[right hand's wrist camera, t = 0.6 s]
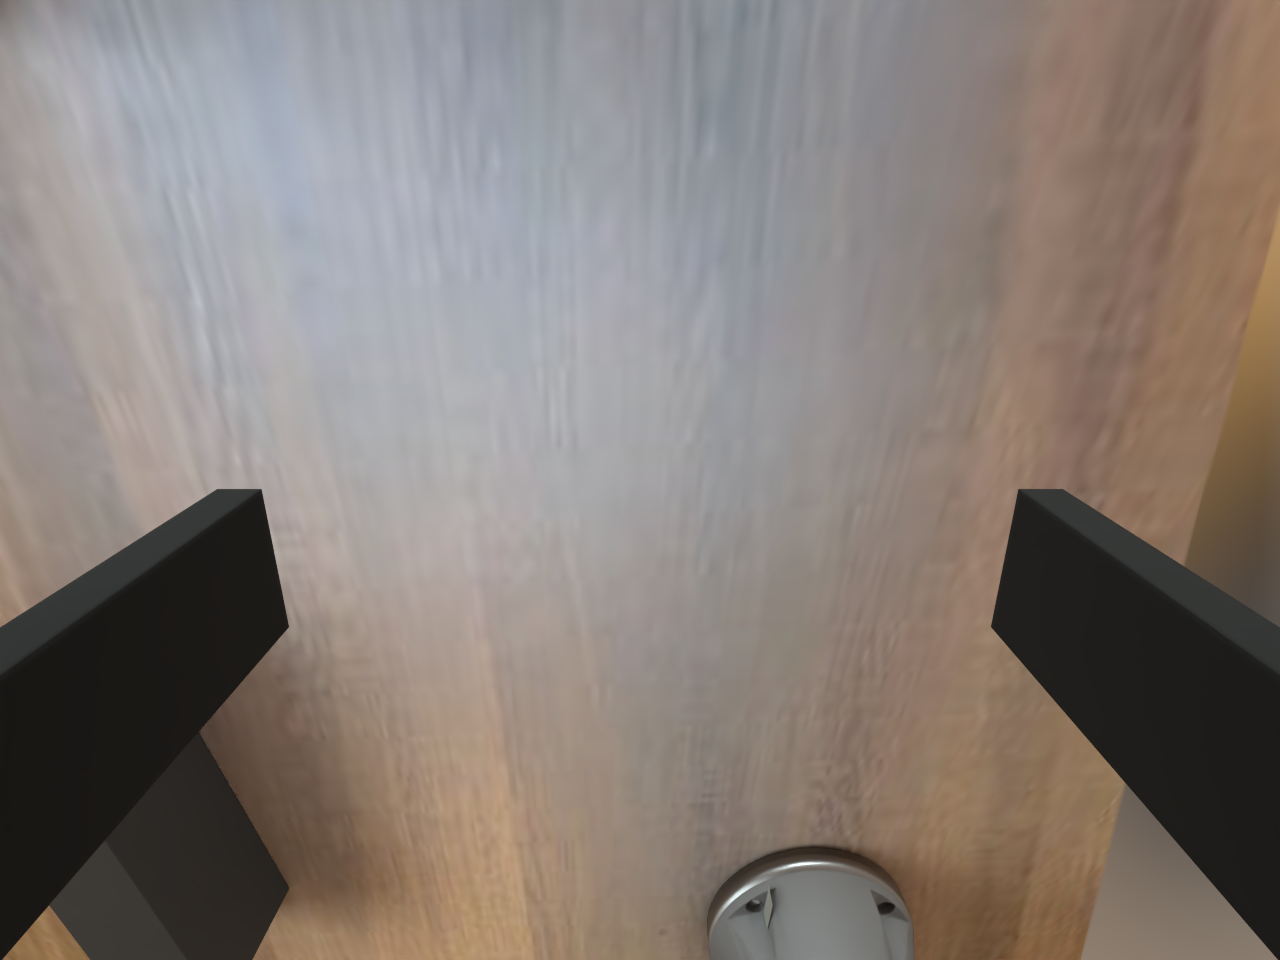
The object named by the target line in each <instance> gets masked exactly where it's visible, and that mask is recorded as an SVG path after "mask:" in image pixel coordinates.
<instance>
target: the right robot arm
mask: <svg viewBox="0 0 1280 960" xmlns="http://www.w3.org/2000/svg"><path fill="white" fill-rule="evenodd" d="M288 627H289V625H288V620H287V615H286V610H285V605H284V600H283V595H282V590H281V585H280V580H279V575H278V570H277V565H276V560H275V554H274V549H273V544H272V539H271V534H270V529H269V524H268V519H267V514H266V509H265V504H264V499H263V494H262V489H217V490H215V491H214V492H212V493H211V494H209V495H207V496H206V497H204V498H203V499H201V500H200V501H198V502H196V503H195V504H193V505H192V506H190V507H189V508H187V509H185V510H184V511H182V512H181V513H179V514H178V515H176V516H174V517H173V518H171V519H170V520H168V521H167V522H165V523H163V524H162V525H160V526H159V527H157V528H156V529H154V530H152V531H151V532H149V533H148V534H146V535H145V536H143V537H142V538H140V539H138V540H137V541H135V542H134V543H132V544H131V545H129V546H127V547H126V548H124V549H123V550H121V551H120V552H118V553H116V554H115V555H113V556H112V557H110V558H109V559H107V560H105V561H104V562H102V563H101V564H99V565H98V566H96V567H94V568H93V569H91V570H90V571H88V572H87V573H85V574H83V575H82V576H80V577H79V578H77V579H76V580H74V581H72V582H71V583H69V584H68V585H66V586H65V587H63V588H61V589H60V590H58V591H57V592H55V593H54V594H52V595H51V596H49V597H47V598H46V599H44V600H43V601H41V602H40V603H38V604H36V605H35V606H33V607H32V608H30V609H29V610H27V611H25V612H24V613H22V614H21V615H19V616H18V617H16V618H14V619H13V620H11V621H10V622H8V623H7V624H5V625H3V626H2V627H0V960H2V959H3V958H4V957H5V956H6V954H7V953H8V952H9V951H10V950H11V949H12V947H13V946H14V945H15V944H16V943H17V942H18V940H19V939H20V938H21V937H22V936H23V935H24V934H25V932H26V931H27V930H28V929H29V928H30V927H31V925H32V924H33V923H34V922H35V921H36V920H37V918H38V917H39V916H40V915H41V914H42V913H43V911H44V910H45V909H46V908H47V907H48V906H49V905H50V903H51V902H52V901H53V900H54V899H55V898H56V896H57V895H58V894H59V893H60V892H61V891H62V889H63V888H64V887H65V886H66V885H67V884H68V883H69V881H70V880H71V879H72V878H73V877H74V876H75V874H76V873H77V872H78V871H79V870H80V869H81V867H82V866H83V865H84V864H85V863H86V862H87V860H88V859H89V858H90V857H91V856H92V855H93V854H94V852H95V851H96V850H97V849H98V848H99V847H100V845H101V844H102V843H103V842H104V841H105V840H106V838H107V837H108V836H109V835H110V834H111V833H112V831H113V830H114V829H115V828H116V827H117V826H118V825H119V823H120V822H121V821H122V820H123V819H124V818H125V816H126V815H127V814H128V813H129V812H130V811H131V809H132V808H133V807H134V806H135V805H136V804H137V802H138V801H139V800H140V799H141V798H142V797H143V796H144V794H145V793H146V792H147V791H148V790H149V789H150V787H151V786H152V785H153V784H154V783H155V782H156V780H157V779H158V778H159V777H160V776H161V775H162V774H163V772H164V771H165V770H166V769H167V768H168V767H169V765H170V764H171V763H172V762H173V761H174V760H175V758H176V757H177V756H178V755H179V754H180V753H181V751H182V750H183V749H184V748H185V747H186V746H187V745H188V743H189V742H190V741H191V740H192V739H193V738H194V736H195V735H196V734H197V733H198V732H199V731H200V729H201V728H202V727H203V726H204V725H205V724H206V722H207V721H208V720H209V719H210V718H211V717H212V716H213V714H214V713H215V712H216V711H217V710H218V709H219V707H220V706H221V705H222V704H223V703H224V702H225V700H226V699H227V698H228V697H229V696H230V695H231V693H232V692H233V691H234V690H235V689H236V688H237V687H238V685H239V684H240V683H241V682H242V681H243V680H244V678H245V677H246V676H247V675H248V674H249V673H250V671H251V670H252V669H253V668H254V667H255V666H256V665H257V663H258V662H259V661H260V660H261V659H262V658H263V656H264V655H265V654H266V653H267V652H268V651H269V649H270V648H271V647H272V646H273V645H274V644H275V642H276V641H277V640H278V639H279V638H280V637H281V636H282V634H283V633H284V632H285V631H286V630H287V629H288ZM991 627H992V629H993V630H994V631H995V632H996V633H997V634H998V636H999V637H1000V638H1001V639H1002V640H1003V641H1004V642H1005V644H1006V645H1007V646H1008V647H1009V648H1010V649H1011V651H1012V652H1013V653H1014V654H1015V655H1016V656H1017V658H1018V659H1019V660H1020V661H1021V662H1022V663H1023V665H1024V666H1025V667H1026V668H1027V669H1028V670H1029V671H1030V673H1031V674H1032V675H1033V676H1034V677H1035V678H1036V680H1037V681H1038V682H1039V683H1040V684H1041V685H1042V687H1043V688H1044V689H1045V690H1046V691H1047V692H1048V694H1049V695H1050V696H1051V697H1052V698H1053V699H1054V700H1055V702H1056V703H1057V704H1058V705H1059V706H1060V707H1061V709H1062V710H1063V711H1064V712H1065V713H1066V714H1067V716H1068V717H1069V718H1070V719H1071V720H1072V721H1073V722H1074V724H1075V725H1076V726H1077V727H1078V728H1079V729H1080V731H1081V732H1082V733H1083V734H1084V735H1085V736H1086V738H1087V739H1088V740H1089V741H1090V742H1091V743H1092V745H1093V746H1094V747H1095V748H1096V749H1097V750H1098V751H1099V753H1100V754H1101V755H1102V756H1103V757H1104V758H1105V760H1106V761H1107V762H1108V763H1109V764H1110V765H1111V767H1112V768H1113V769H1114V770H1115V771H1116V772H1117V774H1118V775H1119V776H1120V777H1121V778H1122V779H1123V780H1124V782H1125V783H1126V784H1127V785H1128V786H1129V787H1130V789H1131V790H1132V791H1133V792H1134V793H1135V794H1136V796H1137V797H1138V798H1139V799H1140V800H1141V801H1142V802H1143V804H1144V805H1145V806H1146V807H1147V808H1148V809H1149V811H1150V812H1151V813H1152V814H1153V815H1154V816H1155V818H1156V819H1157V820H1158V821H1159V822H1160V823H1161V825H1162V826H1163V827H1164V828H1165V829H1166V830H1167V831H1168V832H1169V834H1170V835H1171V836H1172V837H1173V838H1174V840H1175V841H1176V842H1177V843H1178V844H1179V845H1180V847H1181V848H1182V849H1183V850H1184V851H1185V852H1186V853H1187V855H1188V856H1189V857H1190V858H1191V859H1192V860H1193V862H1194V863H1195V864H1196V865H1197V866H1198V867H1199V869H1200V870H1201V871H1202V872H1203V873H1204V874H1205V876H1206V877H1207V878H1208V879H1209V880H1210V881H1211V882H1212V884H1213V885H1214V886H1215V887H1216V888H1217V889H1218V891H1219V892H1220V893H1221V894H1222V895H1223V896H1224V898H1225V899H1226V900H1227V901H1228V902H1229V903H1230V905H1231V906H1232V907H1233V908H1234V909H1235V910H1236V911H1237V913H1238V914H1239V915H1240V916H1241V917H1242V918H1243V920H1244V921H1245V922H1246V923H1247V924H1248V925H1249V927H1250V928H1251V929H1252V930H1253V931H1254V932H1255V934H1256V935H1257V936H1258V937H1259V938H1260V939H1261V940H1262V942H1263V943H1264V944H1265V945H1266V946H1267V947H1268V949H1269V950H1270V951H1271V952H1272V953H1273V954H1274V956H1275V957H1276V958H1277V959H1278V960H1280V627H1278V626H1277V625H1275V624H1273V623H1272V622H1270V621H1269V620H1267V619H1266V618H1264V617H1262V616H1261V615H1259V614H1258V613H1256V612H1255V611H1253V610H1251V609H1250V608H1248V607H1247V606H1245V605H1244V604H1242V603H1240V602H1239V601H1237V600H1236V599H1234V598H1233V597H1231V596H1229V595H1228V594H1226V593H1225V592H1223V591H1222V590H1220V589H1218V588H1217V587H1215V586H1214V585H1212V584H1211V583H1209V582H1208V581H1206V580H1204V579H1203V578H1201V577H1200V576H1198V575H1197V574H1195V573H1193V572H1192V571H1190V570H1189V569H1187V568H1186V567H1184V566H1182V565H1181V564H1179V563H1178V562H1176V561H1175V560H1173V559H1171V558H1170V557H1168V556H1167V555H1165V554H1164V553H1162V552H1160V551H1159V550H1157V549H1156V548H1154V547H1153V546H1151V545H1149V544H1148V543H1146V542H1145V541H1143V540H1142V539H1140V538H1138V537H1137V536H1135V535H1134V534H1132V533H1131V532H1129V531H1128V530H1126V529H1124V528H1123V527H1121V526H1120V525H1118V524H1117V523H1115V522H1113V521H1112V520H1110V519H1109V518H1107V517H1106V516H1104V515H1102V514H1101V513H1099V512H1098V511H1096V510H1095V509H1093V508H1091V507H1090V506H1088V505H1087V504H1085V503H1084V502H1082V501H1080V500H1079V499H1077V498H1076V497H1074V496H1073V495H1071V494H1069V493H1068V492H1066V491H1065V490H1063V489H1018V494H1017V499H1016V504H1015V509H1014V514H1013V519H1012V524H1011V529H1010V534H1009V539H1008V544H1007V549H1006V554H1005V559H1004V565H1003V570H1002V575H1001V580H1000V585H999V590H998V595H997V600H996V605H995V610H994V615H993V620H992V625H991ZM707 933H708V943H709V953H710V958H711V960H915V959H914V930H913V924H912V920H911V917H910V914H909V912H908V909H907V906H906V904H905V901H904V899H903V896H902V894H901V891H900V889H899V887H898V886H897V884H896V883H895V881H894V880H893V879H892V878H891V876H890V875H888V874H887V873H886V872H885V871H884V870H883V869H882V868H880V867H879V866H878V865H876V864H874V863H873V862H871V861H869V860H867V859H865V858H863V857H860V856H858V855H855V854H852V853H849V852H845V851H840V850H834V849H826V848H803V849H794V850H788V851H783V852H779V853H775V854H772V855H769V856H766V857H764V858H761V859H759V860H757V861H755V862H753V863H751V864H749V865H747V866H746V867H744V868H742V869H741V870H739V871H738V872H737V873H735V874H734V875H733V876H732V877H731V878H729V879H728V880H727V881H726V882H725V883H724V884H723V886H722V887H721V888H720V889H719V891H718V892H717V894H716V895H715V897H714V899H713V901H712V903H711V905H710V908H709V912H708V917H707Z"/></svg>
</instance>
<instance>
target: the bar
mask: <svg viewBox="0 0 1280 960" xmlns="http://www.w3.org/2000/svg"><path fill="white" fill-rule="evenodd" d="M288 890H289V887H288V886H287V884H286V882H285V880H284V879H283V877H282V875H281V874H280V872H279V870H278V868H277V867H276V865H275V863H274V862H273V860H272V858H271V856H270V855H269V853H268V851H267V849H266V848H265V846H264V844H263V843H262V841H261V839H260V837H259V836H258V834H257V832H256V831H255V829H254V827H253V825H252V824H251V822H250V820H249V819H248V817H247V815H246V813H245V812H244V810H243V808H242V806H241V805H240V803H239V801H238V800H237V798H236V796H235V794H234V793H233V791H232V789H231V788H230V786H229V784H228V782H227V781H226V779H225V777H224V776H223V774H222V772H221V770H220V769H219V767H218V765H217V763H216V762H215V760H214V758H213V757H212V755H211V753H210V751H209V750H208V748H207V746H206V745H205V743H204V741H203V739H202V738H201V736H200V734H199V733H197V734H196V735H195V736H194V738H193V739H192V740H191V741H190V742H189V743H188V745H187V746H186V747H185V748H184V749H183V750H182V751H181V753H180V754H179V755H178V756H177V757H176V758H175V760H174V761H173V762H172V763H171V764H170V765H169V767H168V768H167V769H166V770H165V771H164V772H163V774H162V775H161V776H160V777H159V778H158V779H157V780H156V782H155V783H154V784H153V785H152V786H151V787H150V789H149V790H148V791H147V792H146V793H145V794H144V796H143V797H142V798H141V799H140V800H139V801H138V802H137V804H136V805H135V806H134V807H133V808H132V809H131V811H130V812H129V813H128V814H127V815H126V816H125V818H124V819H123V820H122V821H121V822H120V823H119V825H118V826H117V827H116V828H115V829H114V830H113V831H112V833H111V834H110V835H109V836H108V837H107V838H106V840H105V841H104V842H103V843H102V844H101V845H100V847H99V848H98V849H97V850H96V851H95V852H94V854H93V855H92V856H91V857H90V858H89V859H88V860H87V862H86V863H85V864H84V865H83V866H82V867H81V869H80V870H79V871H78V872H77V873H76V874H75V876H74V877H73V878H72V879H71V880H70V881H69V883H68V884H67V885H66V886H65V887H64V888H63V889H62V891H61V892H60V893H59V894H58V895H57V896H56V898H55V899H54V900H53V901H52V902H51V903H50V905H49V906H50V907H51V908H52V910H53V911H54V912H55V914H56V915H57V916H58V918H59V919H60V920H61V921H62V923H63V924H64V925H65V927H66V928H67V929H68V931H69V932H70V933H71V935H72V936H73V937H74V939H75V940H76V941H77V943H78V944H79V945H80V947H81V948H82V949H83V950H84V952H85V953H86V954H87V956H88V957H89V958H90V960H252V959H253V957H254V955H255V953H256V951H257V950H258V948H259V946H260V944H261V942H262V940H263V938H264V936H265V934H266V932H267V930H268V928H269V926H270V924H271V922H272V921H273V919H274V917H275V915H276V913H277V911H278V909H279V907H280V905H281V903H282V901H283V899H284V897H285V895H286V894H287V892H288Z"/></svg>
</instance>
